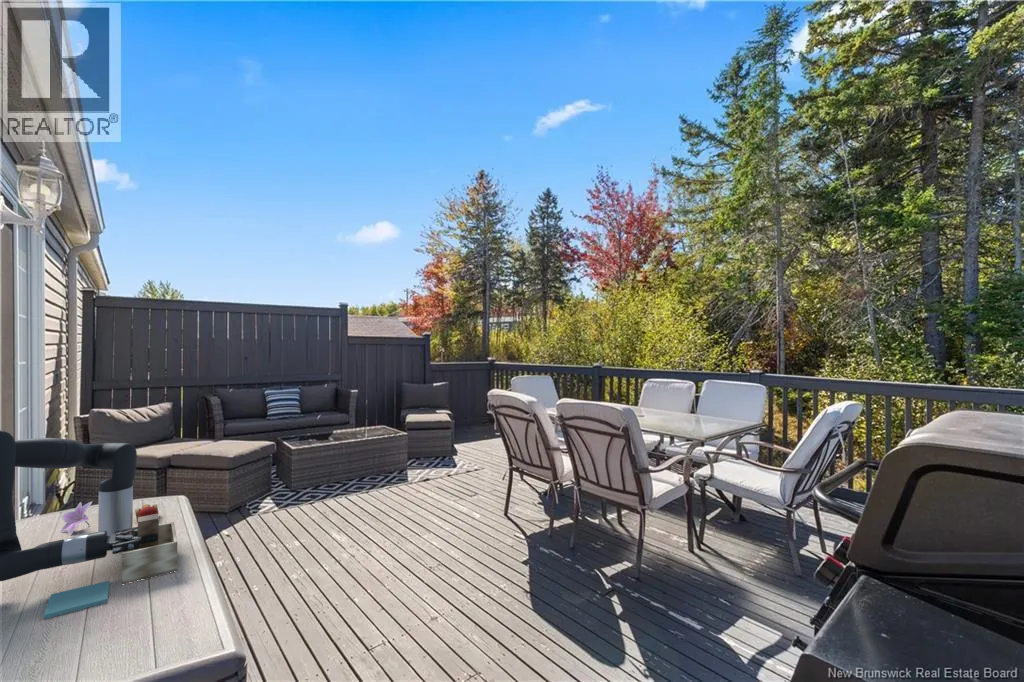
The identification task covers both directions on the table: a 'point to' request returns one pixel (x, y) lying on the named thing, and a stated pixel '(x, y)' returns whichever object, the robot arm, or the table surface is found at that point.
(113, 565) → the table surface
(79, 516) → the lily
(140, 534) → the walnut block
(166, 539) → the crate
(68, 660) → the table surface
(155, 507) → the kendama
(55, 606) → the mat
